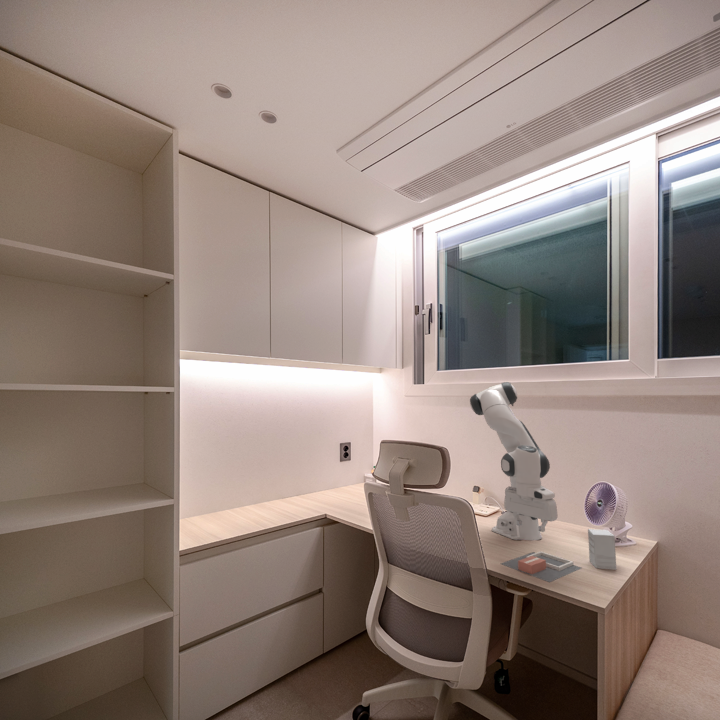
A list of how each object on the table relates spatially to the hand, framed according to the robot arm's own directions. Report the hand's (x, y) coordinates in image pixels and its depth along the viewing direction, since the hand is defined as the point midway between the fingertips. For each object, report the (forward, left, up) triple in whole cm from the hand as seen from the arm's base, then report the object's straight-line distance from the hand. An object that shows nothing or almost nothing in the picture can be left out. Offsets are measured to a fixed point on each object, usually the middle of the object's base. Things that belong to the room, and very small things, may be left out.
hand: (530, 528), depth 157 cm
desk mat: (0, +6, -15) cm, 16 cm away
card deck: (0, 0, -15) cm, 15 cm away
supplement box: (+13, +26, -15) cm, 33 cm away
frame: (0, +12, -15) cm, 19 cm away
